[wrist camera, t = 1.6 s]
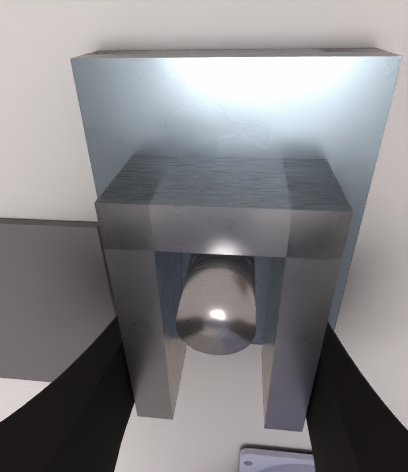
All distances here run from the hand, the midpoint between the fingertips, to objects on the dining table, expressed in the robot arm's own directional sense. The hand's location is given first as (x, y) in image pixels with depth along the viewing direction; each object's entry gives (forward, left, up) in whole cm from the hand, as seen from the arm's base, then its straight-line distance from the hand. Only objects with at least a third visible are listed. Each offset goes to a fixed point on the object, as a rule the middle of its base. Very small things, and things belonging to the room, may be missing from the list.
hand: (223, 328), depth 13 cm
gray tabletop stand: (+2, 0, -1) cm, 2 cm away
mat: (-2, +10, -3) cm, 11 cm away
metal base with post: (+4, 0, -3) cm, 4 cm away
